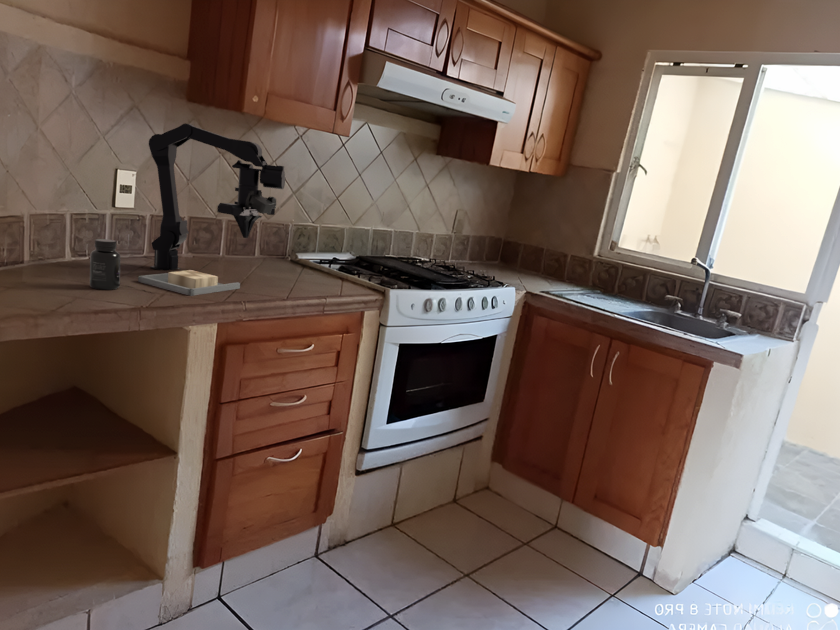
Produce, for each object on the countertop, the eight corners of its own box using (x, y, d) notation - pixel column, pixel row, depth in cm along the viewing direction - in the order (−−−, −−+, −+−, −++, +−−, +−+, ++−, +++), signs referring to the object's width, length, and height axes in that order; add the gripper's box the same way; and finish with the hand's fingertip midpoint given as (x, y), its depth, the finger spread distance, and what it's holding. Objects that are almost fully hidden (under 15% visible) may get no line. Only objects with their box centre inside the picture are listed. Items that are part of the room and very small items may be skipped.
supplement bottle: (125, 289, 158) (126, 242, 156) (99, 291, 153) (100, 243, 150) (109, 283, 162) (110, 237, 159) (83, 285, 156) (84, 238, 153)
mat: (138, 283, 166) (138, 276, 166) (189, 277, 182) (190, 270, 182) (190, 297, 158) (191, 290, 158) (239, 290, 174) (240, 283, 174)
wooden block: (190, 280, 176) (167, 283, 169) (191, 269, 175) (168, 272, 168) (217, 287, 172) (195, 290, 165) (217, 276, 171) (195, 279, 164)
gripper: (246, 187, 172) (243, 243, 175) (290, 189, 188) (286, 240, 192) (217, 182, 177) (214, 237, 180) (262, 185, 193) (258, 235, 197)
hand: (245, 237), depth 187 cm, fingers closed
